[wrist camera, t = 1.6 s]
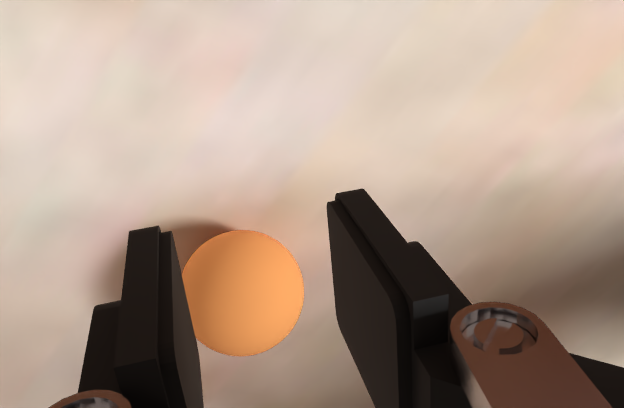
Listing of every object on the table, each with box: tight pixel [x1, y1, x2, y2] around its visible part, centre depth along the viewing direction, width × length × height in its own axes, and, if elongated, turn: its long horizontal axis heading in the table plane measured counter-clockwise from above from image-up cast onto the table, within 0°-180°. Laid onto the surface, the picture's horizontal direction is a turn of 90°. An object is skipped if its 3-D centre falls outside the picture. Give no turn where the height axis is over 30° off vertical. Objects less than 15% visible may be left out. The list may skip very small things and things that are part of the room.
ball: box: [182, 230, 304, 356], centre depth 28 cm, size 6×6×6 cm
